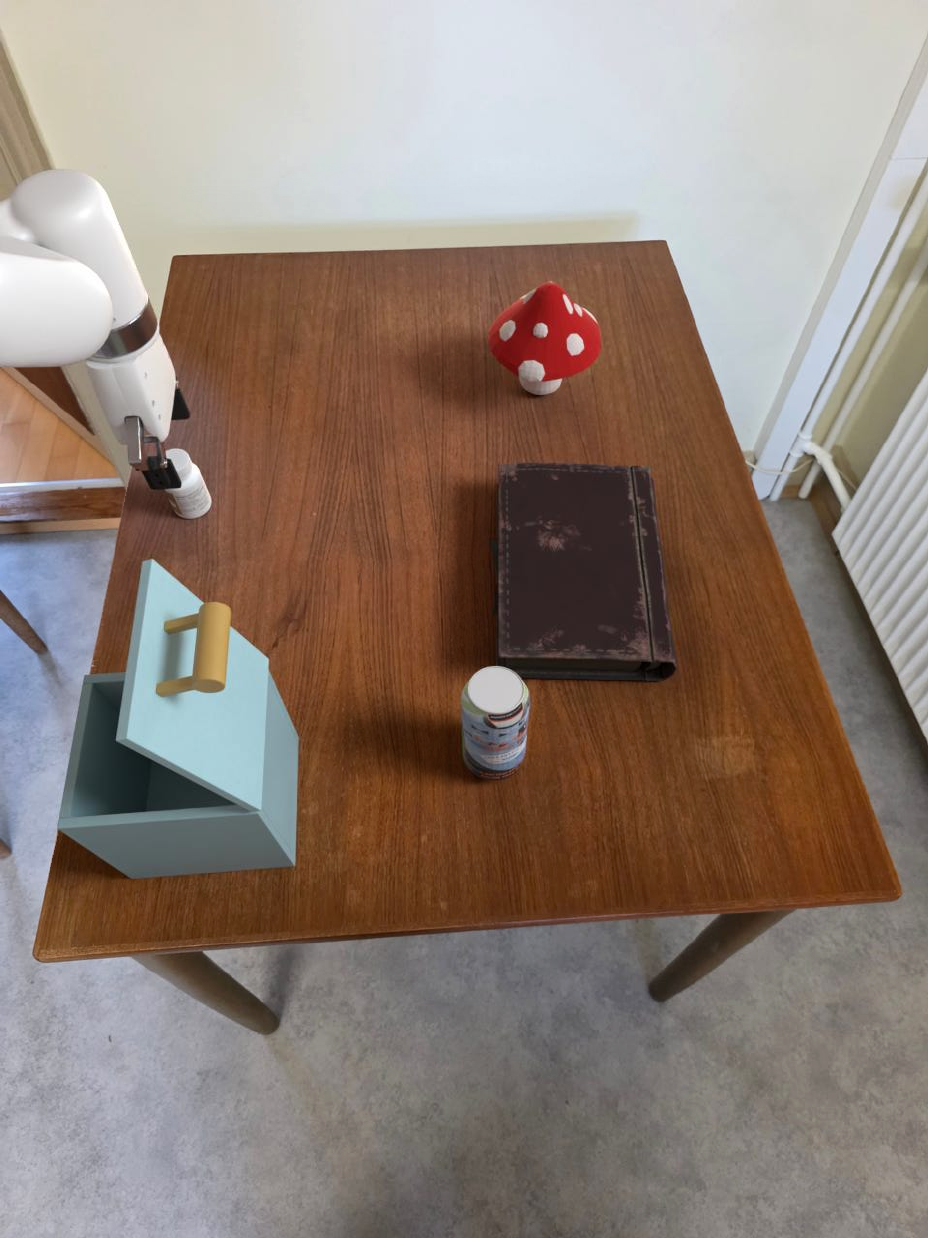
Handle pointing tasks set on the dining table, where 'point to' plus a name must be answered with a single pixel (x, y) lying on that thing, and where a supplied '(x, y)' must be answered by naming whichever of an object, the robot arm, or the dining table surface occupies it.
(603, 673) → the diary
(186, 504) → the pill bottle
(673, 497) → the dining table surface
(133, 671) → the lid
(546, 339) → the decorative mushroom
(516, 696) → the beverage can
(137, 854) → the chest
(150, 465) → the robot arm
